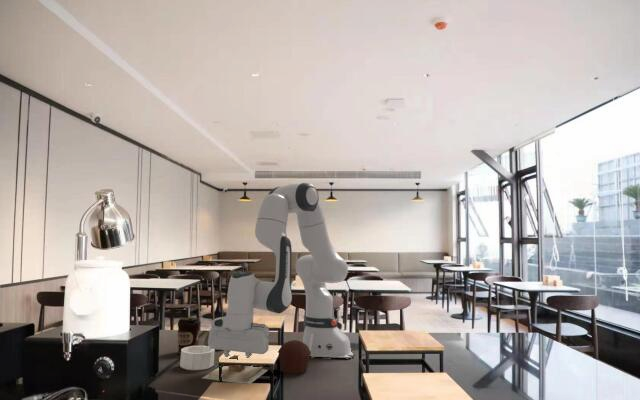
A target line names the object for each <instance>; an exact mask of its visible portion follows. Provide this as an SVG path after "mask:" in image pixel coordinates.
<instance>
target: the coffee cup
mask: <svg viewBox="0 0 640 400" xmlns="http://www.w3.org/2000/svg"><path fill="white" fill-rule="evenodd" d="M200 327H201V321H200V318H199V317H191V316H190V317H180V318H179V320H178V322H177V328H178V330H177V347H178V350H177V351H178V352H177V353H178V354H180V355H181V349H182V348H185V347H189V346H197V342H198V339H199V329H200Z"/></svg>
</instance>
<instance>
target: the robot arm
mask: <svg viewBox="0 0 640 400" xmlns="http://www.w3.org/2000/svg"><path fill="white" fill-rule="evenodd" d="M319 199H320V198H319V192H318V190H317V188H316V186H314V185H313V184H312V183H309V182H301V183H289V184H287V185H283V186H277V187H274V188H272V189H271V190H270V191H269V192H268V194H267V195H265V197H264V198H263V200H262V202H261V205H260V208H259V211H258V214H257V218H256V222H255V229H254V230H255V231H254V233H255V234H254V235H255V238H256V239H257V241H258V243H260V244H261V245H262V246H263V247H265V248H267V249H269V250H271V251H272V252H273V254H274V255H275V261H276V262H275V277H274V278H275V279H274V281H266V280H265V281H264V280H261V279H259V278H256V277H255V274H254V272H252V271H249V270H248V271H246V270H245V271H244V270H243V271H237V272H234V273H232V274H231V276H230V278H229V282H228V287H227V288H228V289H227V304H228V305H227V309H226V314H225V315H223V316H221V317H217V318H215V319H212V320H211V326H212V327H211V328H210V329H209V331H210V332H209V331H208V332H209V338H208V346H209V348H211V349H217V350H218V349H219V351H221V350H222V351H223V355H224V357H228V356H230V357H231V355H230V353H231V352H239V353H245V354H244V356H246V358H249V357H250V356H251V357H252V355H253V354H257V355H264V354H266V353H267V352H268V351H269V347H270V346H269V336H270V328H269V327H268V326H267V325H266V324H265V323H256V322H254V313H255V312H254V309H257V310H261V311H268V312H271V313H274V314H282V313H284V312H285V311H286V310H287V309H288V308H289V307H290V306H291V304H292V301H293V290H292V261H293V260H292V257H293V256H292V255H293V254H292V251H293V250H292V243H291V240H290V238H288V235H287V226H288V218H289V214H291V213H293V214H294V213H295V214H296V219H297V224H298V230H299V234H300V239H301V243H302V245H303V246H304V248H305V249H307V250H308V252H309V254H305V255H302V256H300V257H299V258H298V259H297V261H296V263H295V272H296V274H297V277H298V278H300V280H301V282H302V285H303V289H304V293H305V294H304V295H305V315H304V318H303V329H304V330H303V338H302V342H303V343H304V344H306V345H307V346H308V348H309V350H310V351H311V354H310V356H324V357H350V356H348V355H353V353H352V352H351V349H352V347H351V342H350V339H349V336H348V335H346V334H345V333H344V332H343V331H342V330H341V329H340V328H339V327H338V318H335V317H334V316H333V313H334V312H333V310H334V309H333V308H334V307H333V306H334V298H333V295H332V294H331V293H330V291H329V290H328V288H327V285H326V284H338V283H341V282H343V281H344V280H346V278H347V276H348V273H349V267H348V264H347V262H346V261H345V259H344V258H342V256H340V254H339V253H337V251H336V249H335V247H334V246H333V244H332V242H331V239H330V236H329V232H328V228H327V223H326V218H325V214H324V212H323V208H322V205H321V203H320V201H319ZM251 357H250V358H251ZM250 358H249V359H250ZM244 367H246V366H244Z"/></svg>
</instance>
